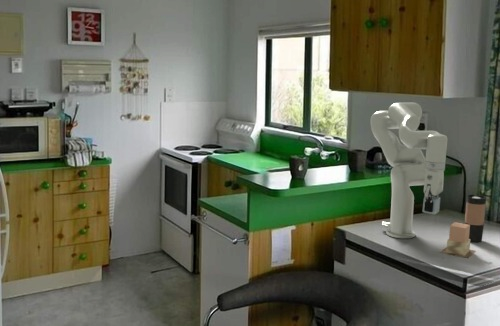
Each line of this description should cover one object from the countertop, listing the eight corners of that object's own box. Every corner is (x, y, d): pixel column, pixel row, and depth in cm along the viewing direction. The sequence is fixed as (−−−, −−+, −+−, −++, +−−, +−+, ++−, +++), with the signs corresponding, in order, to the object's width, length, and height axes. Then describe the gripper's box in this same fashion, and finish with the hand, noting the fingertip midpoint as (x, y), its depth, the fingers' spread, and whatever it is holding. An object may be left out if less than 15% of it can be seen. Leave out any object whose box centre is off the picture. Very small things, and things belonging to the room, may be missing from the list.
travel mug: (472, 246, 240) (476, 199, 236) (459, 240, 247) (462, 195, 243) (486, 243, 243) (490, 197, 239) (472, 238, 250) (476, 193, 246)
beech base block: (446, 252, 229) (447, 240, 228) (451, 247, 235) (452, 235, 234) (464, 255, 225) (465, 243, 224) (469, 251, 231) (470, 239, 230)
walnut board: (439, 254, 229) (439, 252, 229) (448, 247, 238) (448, 245, 237) (467, 260, 223) (467, 258, 222) (475, 253, 231) (475, 250, 231)
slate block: (422, 212, 229) (423, 197, 228) (426, 209, 233) (428, 195, 232) (434, 214, 226) (436, 200, 225) (439, 211, 230) (440, 197, 229)
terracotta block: (448, 240, 228) (450, 225, 227) (453, 236, 233) (454, 222, 232) (464, 243, 225) (465, 228, 224) (468, 239, 230) (470, 224, 228)
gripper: (437, 170, 216) (432, 216, 220) (451, 163, 230) (447, 206, 234) (417, 167, 221) (413, 213, 225) (432, 160, 234) (429, 203, 238)
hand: (430, 209), depth 229 cm, fingers closed on slate block, 5 cm apart
